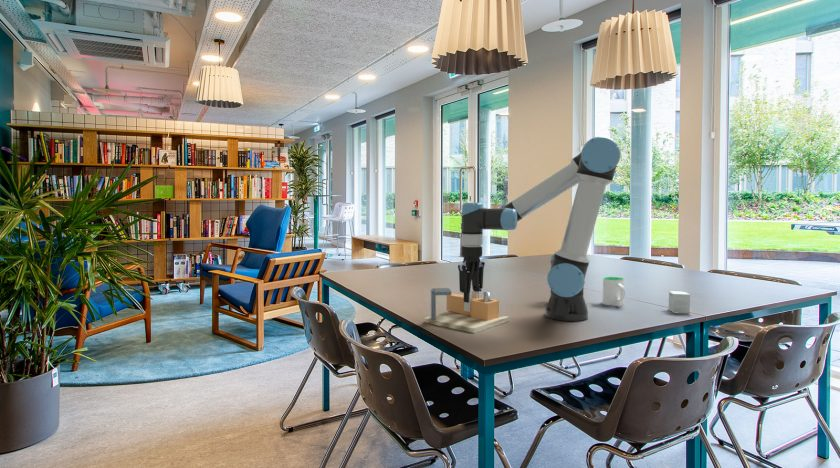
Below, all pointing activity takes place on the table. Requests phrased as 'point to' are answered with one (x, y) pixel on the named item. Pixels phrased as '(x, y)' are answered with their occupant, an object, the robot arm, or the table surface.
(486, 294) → the post
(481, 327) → the board
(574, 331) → the table surface
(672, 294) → the product box
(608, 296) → the mug
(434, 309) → the keeper
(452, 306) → the link
